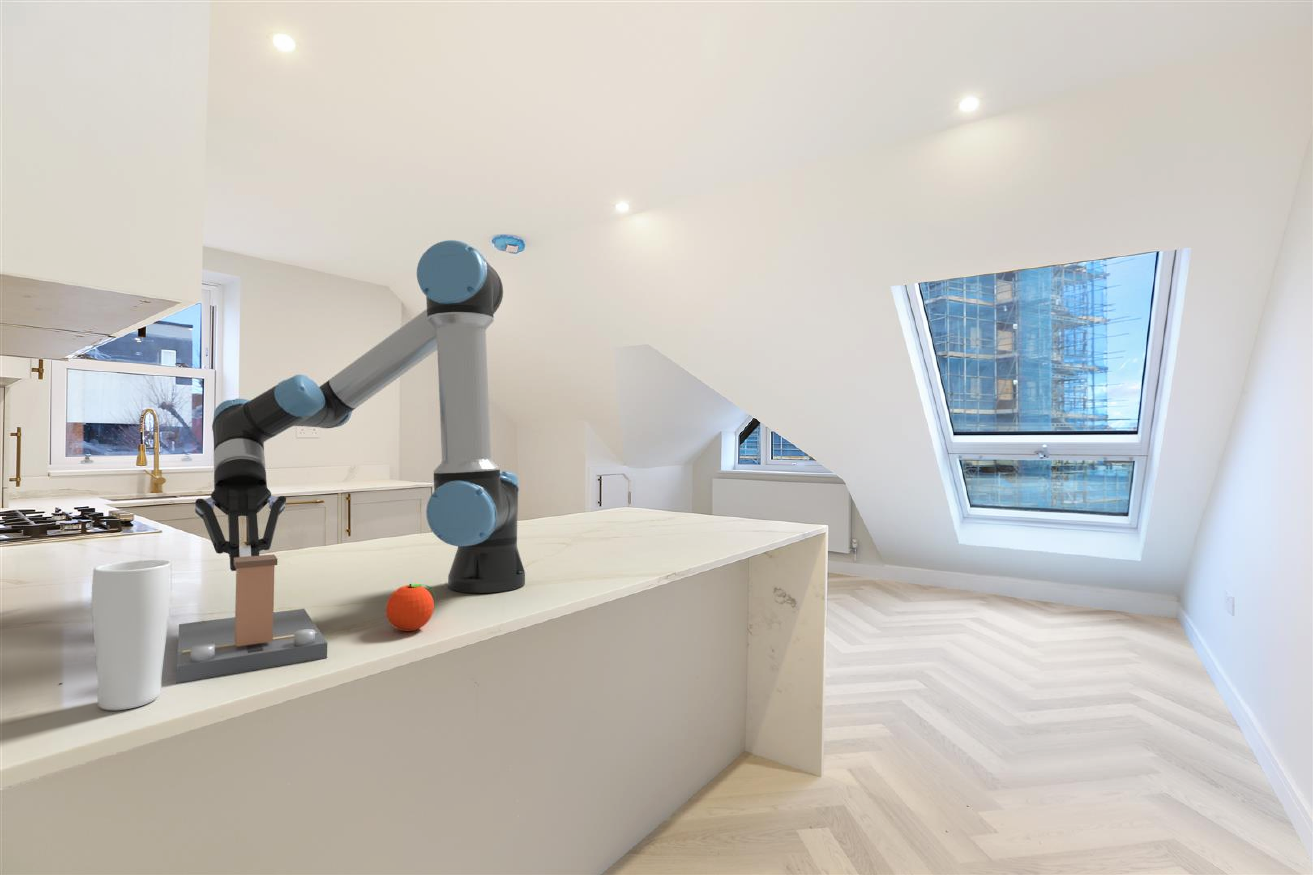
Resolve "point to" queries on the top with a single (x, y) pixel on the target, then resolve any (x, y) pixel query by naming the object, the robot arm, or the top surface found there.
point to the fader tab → (254, 599)
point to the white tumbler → (130, 630)
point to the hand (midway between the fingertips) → (246, 585)
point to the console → (246, 646)
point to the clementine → (410, 607)
